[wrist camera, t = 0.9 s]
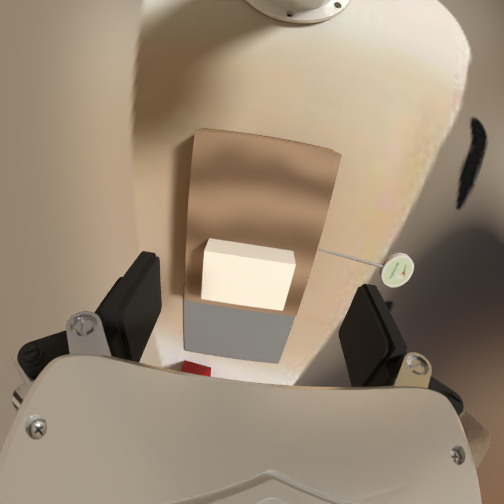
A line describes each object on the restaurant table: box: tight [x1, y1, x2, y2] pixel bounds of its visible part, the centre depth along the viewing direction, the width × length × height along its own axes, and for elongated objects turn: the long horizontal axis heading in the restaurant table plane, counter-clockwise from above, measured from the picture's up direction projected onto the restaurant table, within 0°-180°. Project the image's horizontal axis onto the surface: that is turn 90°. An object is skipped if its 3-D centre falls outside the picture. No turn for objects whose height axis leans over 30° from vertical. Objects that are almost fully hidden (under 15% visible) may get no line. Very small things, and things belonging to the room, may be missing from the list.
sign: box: [319, 249, 414, 287], centre depth 34 cm, size 5×1×15 cm
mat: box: [184, 284, 295, 364], centre depth 40 cm, size 14×16×1 cm
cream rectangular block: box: [201, 238, 296, 311], centre depth 29 cm, size 6×9×3 cm, turn 81°
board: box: [185, 128, 341, 316], centre depth 30 cm, size 20×14×4 cm
